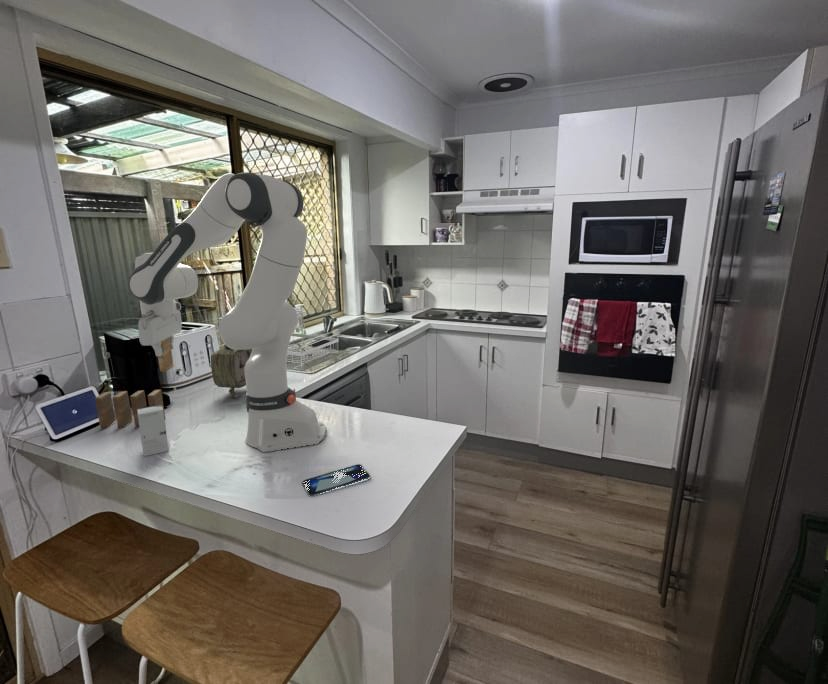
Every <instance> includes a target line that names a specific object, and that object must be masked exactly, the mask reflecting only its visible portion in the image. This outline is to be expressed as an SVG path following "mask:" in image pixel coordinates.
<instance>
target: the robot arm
mask: <svg viewBox="0 0 828 684" xmlns="http://www.w3.org/2000/svg"><path fill="white" fill-rule="evenodd" d="M304 203H305V202H304V197H303V194H302V192H301V191H300V189H299V188H298V187H297V186H296V185H294V184H293V183H291V182H289V181H287V180H282V179H280V178H276V177H274V176H272V175H267V174H263V173H261V174H260V173H254V172H249V171H248V172H247V171H246V172H240V173H236V174H234V173H225V174H222V175H221V176H220V177H219V178H218V179H217V180H216V181H215V182H214V183H212V184H211V186H210V187H209V189H208V190H206V192H205V194H204V195H203V197H202V198H201V200H200V202H199V203H198V204H197V206H196V207H195V208H194V209H193V210H192V212H191V213H190V214H188V216H187V217H186V218H185V219H183V221H181V222H180V223H178V224H177V225H176V226H175V227H173V229H171V231H169V233H168V234H167V235H166V236H165V237H164V239H163V240H162V241H161V242H160V244H159V245H158V246H157V247H156V248H155V250H154V251H152V252H147V253H142V254H139V255H138V256H136V257H135V261H134V269H133V271H132V272H131V274H130V277H129V280H128V289H129V291H130V293H131V294H132V295H133V296H134V297H135V299H137V300H138V301H139V305H140V312H141V318H140V319H139V320H138V325H137V326H138V339H139V343H140V345H141V346H151V347H152V348H153V350H154V352H155V357H158V356H162V355H164V349H162V348H161V341H163V340H165V339H167V338H170V345H171V351H172V350H173V349H174V345H173V344H174V339H175V337H174V336H175V335H177V334H179V333H181V331H182V325H183V324H182V314H181V310H182V305H181V303H180V302H179V301H176V300H179V299H184V298H189V297H191V296H194V295H195V294H196V293H197V292H198V290H199V287H200V278H199V275H198V273H197V272H196V270H195V269H194V268H193V267H192V266H190V265H187V264H183V263H181V262H182V261H183V260H184V259H185V258H186V257H188V256H190V255H191V254H193V253H196V252H198V251H201V250H205V249H209V248H215V247H217V246H221V245H225V244H226V243H228V242H229V241H230V240H231V239H232V238H233V237H235V235H236V234H237V232H238V231H239V230H240V228H241V226H242V225H243V224H244V222H246V223H247V224H248V225H249V226H251V227H253V228H256V227H257V228H258V227H260V228H259V229H261V240H260V244H259V248H258V251H257V254H256V258H255V261H254V265H253V268H252V272H251V275H250V277H249V280H248V282H247V284H246V286H245V288H244V290H243V291H242V293H241V295H240V296H239V298H238V299H237V301H236V303H235V304H234V305H233V307H232V308H231V309H230V310H229V311H228V312H226V314H224V315H223V316H222V318H221V319H220V321H219V323H218V335H219V337H220V339H221V341H222V342H223V344H225V345H226V346H228V347H229V348H231V349H234V350H246V349H252V352H251V355H250V357H249V359H248V360H247V362H246V364H245V368H244V371H245V381H246V385H245V388H246V393H245V409H246V412H247V413H248V414H247V417H248V418H247V420H248V421H247V433H246V438H245V443H246V444H247V445H248V446H250V447H252V448H256V449H258V450H259V451H260V452H262V453H268V451H269V452H275V450H276V451H281V449H283V450H288V449H287V448H289V449H294V447H296V448H302V447H301V446H303V447H307V446H306V445H309V446H314V445H313V444H315V445H318V444H319V442H320V441H321V440H322V439H323V438H324V439H325V437H326V435H327V428H326V425H325V423H324V422H322V421H318V417H317V414H316V411H314V408H311V407H309V406H308V405H306V404H304V403H302V402H301V401H299V400H297V395H296V392H297V391H296V388H293V389H291V388H289V387H288V376H287V374H288V372H287V359H288V352H289V346H290V342H291V338H292V334H293V333H294V330H295V329H296V327H297V326H298V323H299V318H298V313H297V310H296V309H295V308H294V306H292V304H291V303H289V302H287V299H288V298H290V297H291V296H292V293H294V289H295V287H296V284H297V280H298V277H299V274H300V271H301V267H302V265H303V261H304V256H305V251H306V246H307V240H308V231H307V227H306V225H305V223H303V221H302V220H300V219H299V218H298V217H299V216H300V215H302V212H303V210H304ZM325 434H326V435H325ZM324 436H325V437H324ZM324 439H323V440H324ZM323 440H322V441H323ZM322 441H321V442H322ZM321 442H320V443H321ZM317 443H318V444H317Z"/></svg>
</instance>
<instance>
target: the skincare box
mask: <svg viewBox="0 0 828 684" xmlns="http://www.w3.org/2000/svg"><path fill="white" fill-rule="evenodd" d="M137 412H138V420H139V434H140V441H141V445H142V446H141V448H142V454H143V456H144V457H146V456H152V455H157V454H161V453H165V452H168V451H169V443H168V435H167V434H168V433H167V429H166V419H164V412H165V410H164V411H163V406H162V405H161V406H155V407H149V406H147V408H143V409H138V410H137Z"/></svg>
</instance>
